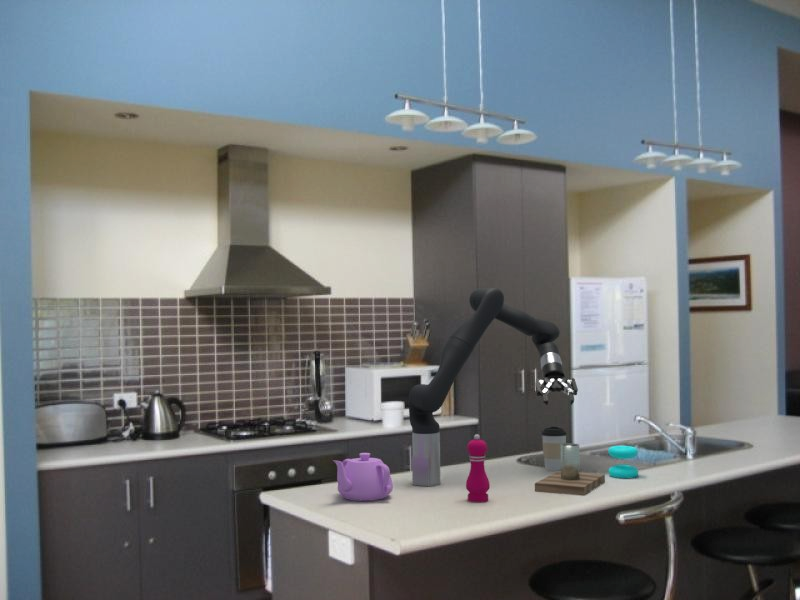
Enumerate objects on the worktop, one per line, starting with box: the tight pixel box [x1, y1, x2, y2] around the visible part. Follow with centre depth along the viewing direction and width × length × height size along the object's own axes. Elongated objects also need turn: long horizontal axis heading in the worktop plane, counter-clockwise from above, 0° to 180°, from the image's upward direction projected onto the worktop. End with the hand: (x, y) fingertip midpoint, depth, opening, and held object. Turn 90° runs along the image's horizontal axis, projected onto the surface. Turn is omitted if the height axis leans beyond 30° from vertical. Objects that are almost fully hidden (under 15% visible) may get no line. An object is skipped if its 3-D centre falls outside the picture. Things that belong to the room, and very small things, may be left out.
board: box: [534, 470, 606, 496], centre depth 280 cm, size 24×16×2 cm, turn 152°
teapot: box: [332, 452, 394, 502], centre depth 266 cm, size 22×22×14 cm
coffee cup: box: [541, 426, 568, 472], centre depth 313 cm, size 9×9×15 cm
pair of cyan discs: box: [607, 445, 639, 479], centre depth 297 cm, size 10×10×10 cm
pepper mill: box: [465, 433, 491, 503], centre depth 262 cm, size 7×7×20 cm
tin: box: [560, 442, 581, 480], centre depth 281 cm, size 6×6×11 cm
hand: (559, 403), depth 297 cm, fingers open, 8 cm apart
